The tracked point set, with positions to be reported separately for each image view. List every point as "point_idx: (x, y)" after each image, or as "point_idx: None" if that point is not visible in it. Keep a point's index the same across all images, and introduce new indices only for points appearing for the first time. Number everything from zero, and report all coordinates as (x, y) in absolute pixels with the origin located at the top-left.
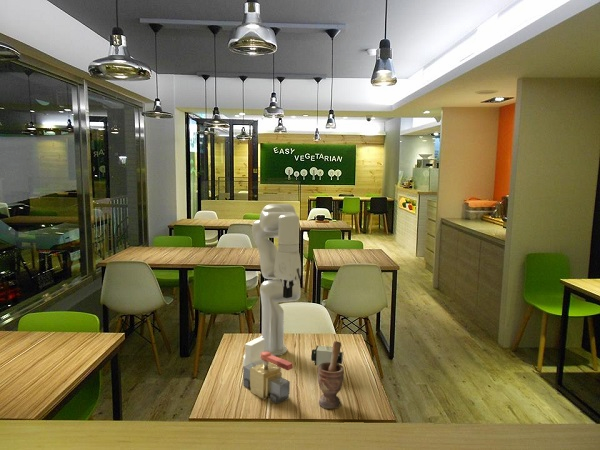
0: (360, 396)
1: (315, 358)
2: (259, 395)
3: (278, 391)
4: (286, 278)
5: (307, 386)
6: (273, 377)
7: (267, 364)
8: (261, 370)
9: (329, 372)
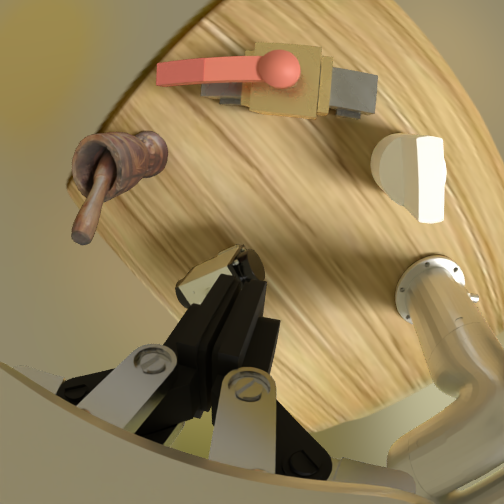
0: (129, 222)
1: (236, 253)
2: None
3: None
4: (7, 399)
5: (231, 181)
6: None
7: None
8: None
9: (80, 142)
